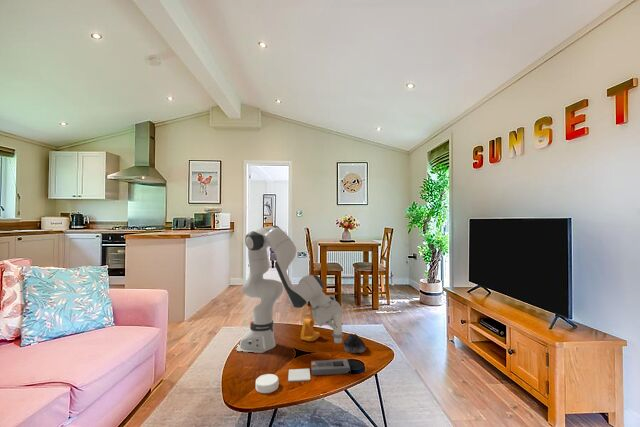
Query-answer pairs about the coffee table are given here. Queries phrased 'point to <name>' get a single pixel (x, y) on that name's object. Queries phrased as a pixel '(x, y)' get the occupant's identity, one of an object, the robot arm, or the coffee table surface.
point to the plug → (338, 331)
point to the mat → (299, 375)
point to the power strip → (330, 367)
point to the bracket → (309, 330)
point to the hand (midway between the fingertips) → (338, 327)
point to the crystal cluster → (354, 344)
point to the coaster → (267, 383)
